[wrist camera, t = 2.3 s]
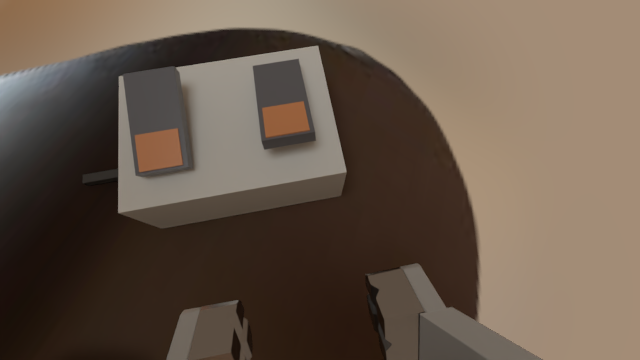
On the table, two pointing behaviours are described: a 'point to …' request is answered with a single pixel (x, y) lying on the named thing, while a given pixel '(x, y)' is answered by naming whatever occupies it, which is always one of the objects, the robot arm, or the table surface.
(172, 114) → the block
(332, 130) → the switch box
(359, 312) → the table surface
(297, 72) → the block
